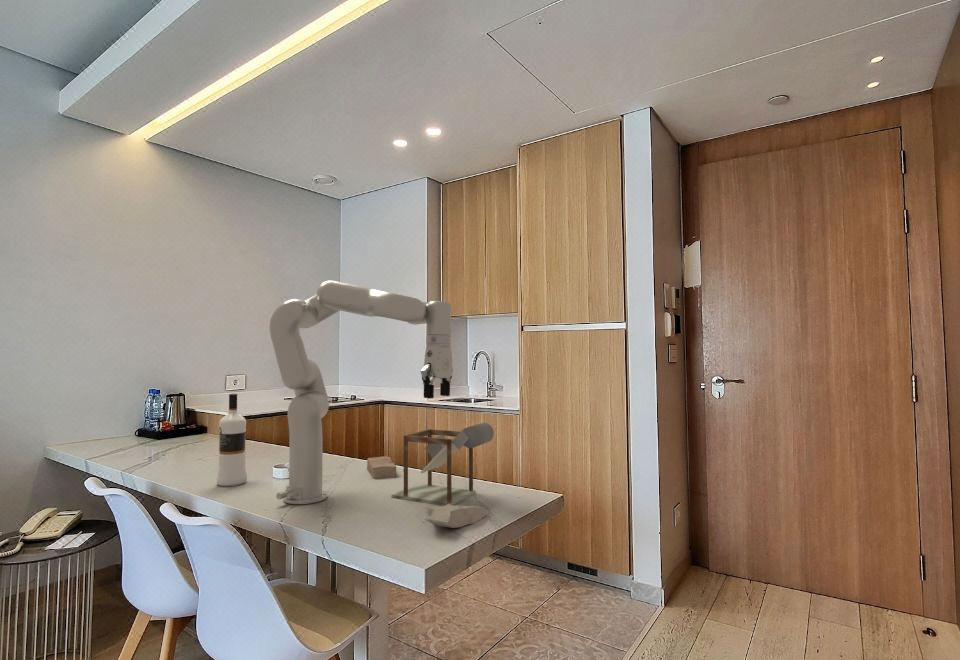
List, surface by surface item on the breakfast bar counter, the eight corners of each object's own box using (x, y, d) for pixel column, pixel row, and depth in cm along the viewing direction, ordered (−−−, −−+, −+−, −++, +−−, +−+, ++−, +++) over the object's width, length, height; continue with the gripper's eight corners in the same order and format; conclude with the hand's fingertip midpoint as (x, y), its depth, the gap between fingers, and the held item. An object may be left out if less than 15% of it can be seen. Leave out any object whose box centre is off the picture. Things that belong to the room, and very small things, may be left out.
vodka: (248, 484, 175) (249, 394, 176) (216, 488, 171) (218, 395, 172) (245, 478, 184) (247, 392, 185) (216, 482, 179) (217, 393, 180)
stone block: (444, 450, 158) (434, 437, 159) (434, 461, 159) (424, 448, 161) (453, 447, 162) (443, 434, 164) (443, 457, 164) (433, 445, 165)
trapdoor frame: (475, 493, 164) (475, 432, 165) (451, 506, 151) (451, 439, 151) (418, 485, 173) (418, 428, 174) (391, 497, 160) (391, 434, 161)
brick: (397, 478, 185) (397, 464, 185) (373, 480, 182) (373, 466, 183) (388, 468, 201) (388, 455, 201) (366, 470, 198) (366, 457, 198)
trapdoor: (498, 433, 160) (485, 417, 162) (481, 439, 149) (466, 421, 151) (453, 479, 166) (440, 463, 168) (433, 488, 155) (420, 471, 157)
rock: (399, 529, 133) (445, 535, 124) (399, 510, 133) (444, 515, 125) (452, 514, 150) (496, 519, 141) (452, 497, 150) (495, 501, 142)
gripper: (434, 340, 153) (432, 399, 153) (462, 342, 169) (461, 395, 168) (412, 340, 157) (410, 398, 156) (442, 341, 172) (440, 394, 172)
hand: (436, 396), depth 162 cm, fingers open, 9 cm apart
